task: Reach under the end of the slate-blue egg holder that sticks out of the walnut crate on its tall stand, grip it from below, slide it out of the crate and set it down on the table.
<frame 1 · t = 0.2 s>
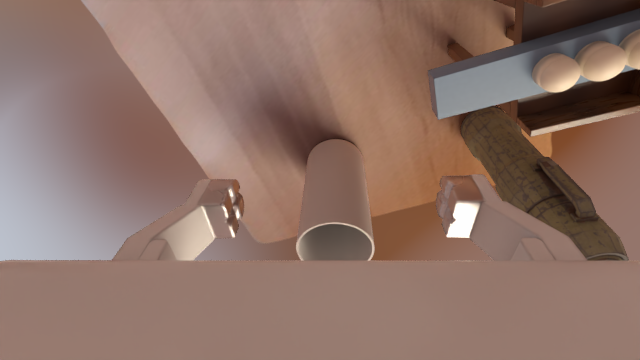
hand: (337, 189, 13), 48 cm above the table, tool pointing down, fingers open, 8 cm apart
cylinder vase: (335, 161, 69), on the table
egg holder: (525, 64, 30), point 26 cm above the table, touching crate stand
crate stand: (481, 3, 49), on the table
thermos: (482, 125, 62), on the table
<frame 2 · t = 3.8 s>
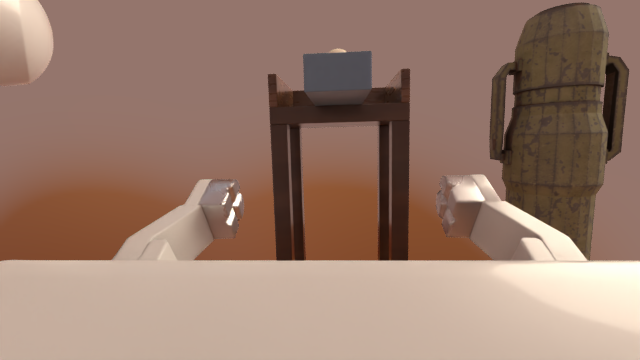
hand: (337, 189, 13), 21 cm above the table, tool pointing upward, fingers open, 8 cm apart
egg holder: (338, 105, 29), point 26 cm above the table, touching crate stand
crate stand: (342, 329, 37), on the table
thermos: (538, 332, 36), on the table
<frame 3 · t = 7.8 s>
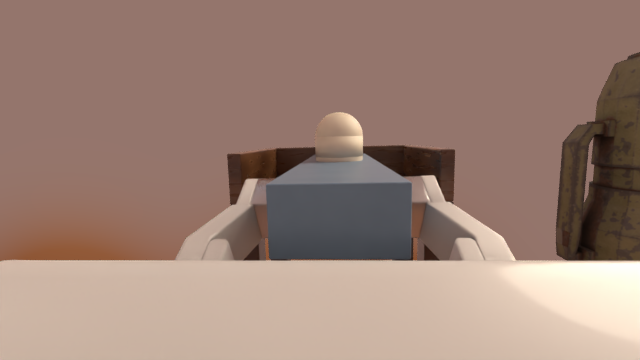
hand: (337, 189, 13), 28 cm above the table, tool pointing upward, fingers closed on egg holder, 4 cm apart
egg holder: (339, 201, 18), point 26 cm above the table, touching crate stand, gripper
when the fingers open (9 cm above the table, at t = 17.8 s): egg holder drops 4 cm, on the table.
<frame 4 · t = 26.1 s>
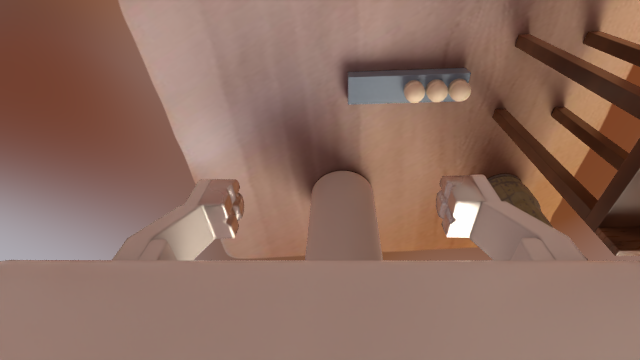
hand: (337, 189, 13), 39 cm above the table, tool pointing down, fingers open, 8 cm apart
cylinder vase: (342, 192, 64), on the table
egg holder: (404, 83, 49), on the table
crate stand: (541, 78, 48), on the table
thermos: (497, 190, 62), on the table
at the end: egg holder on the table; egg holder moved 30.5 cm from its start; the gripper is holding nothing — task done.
